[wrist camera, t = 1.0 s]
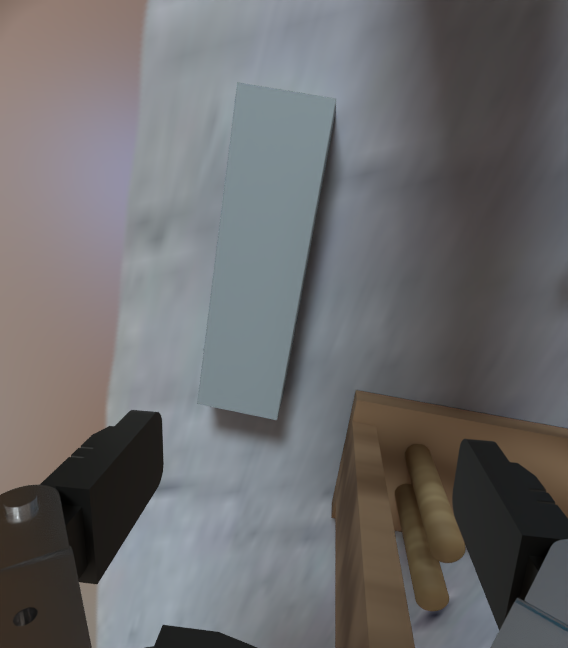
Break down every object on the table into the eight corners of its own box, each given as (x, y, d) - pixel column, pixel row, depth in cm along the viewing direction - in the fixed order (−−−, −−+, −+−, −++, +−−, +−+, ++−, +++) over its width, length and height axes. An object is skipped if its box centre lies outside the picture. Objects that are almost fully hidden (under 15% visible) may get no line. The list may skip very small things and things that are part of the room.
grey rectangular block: (250, 97, 26) (237, 82, 22) (335, 111, 25) (336, 98, 22) (212, 380, 31) (197, 403, 27) (283, 395, 31) (276, 420, 27)
